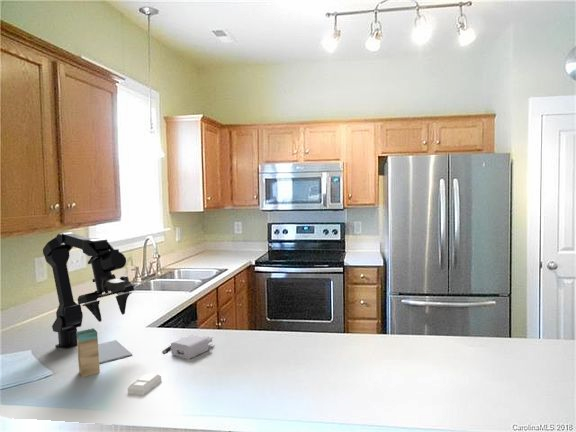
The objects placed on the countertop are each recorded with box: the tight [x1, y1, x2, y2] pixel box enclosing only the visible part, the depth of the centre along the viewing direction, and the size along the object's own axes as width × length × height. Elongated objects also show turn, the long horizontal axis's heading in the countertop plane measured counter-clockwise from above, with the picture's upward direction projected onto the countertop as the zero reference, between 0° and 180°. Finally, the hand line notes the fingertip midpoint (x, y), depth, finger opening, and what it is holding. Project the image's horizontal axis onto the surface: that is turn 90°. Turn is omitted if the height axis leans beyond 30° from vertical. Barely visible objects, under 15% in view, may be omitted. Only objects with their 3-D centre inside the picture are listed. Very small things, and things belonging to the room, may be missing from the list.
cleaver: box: [161, 336, 186, 354], centre depth 155 cm, size 17×1×5 cm
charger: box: [170, 334, 214, 360], centre depth 149 cm, size 5×9×15 cm
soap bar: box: [127, 373, 162, 396], centre depth 120 cm, size 5×9×3 cm, turn 165°
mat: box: [98, 340, 133, 365], centre depth 150 cm, size 20×12×1 cm, turn 37°
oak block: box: [76, 327, 101, 378], centre depth 133 cm, size 5×5×13 cm
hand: (112, 317), depth 145 cm, fingers open, 9 cm apart
